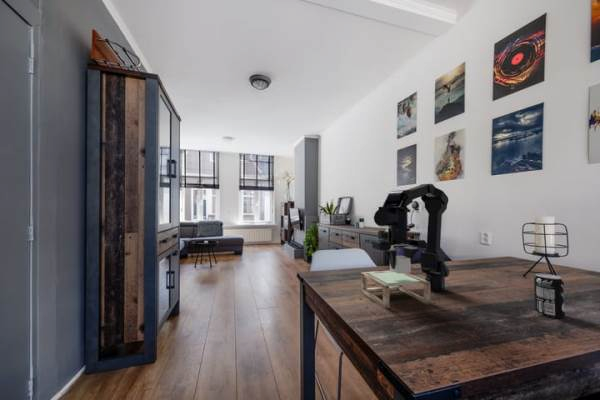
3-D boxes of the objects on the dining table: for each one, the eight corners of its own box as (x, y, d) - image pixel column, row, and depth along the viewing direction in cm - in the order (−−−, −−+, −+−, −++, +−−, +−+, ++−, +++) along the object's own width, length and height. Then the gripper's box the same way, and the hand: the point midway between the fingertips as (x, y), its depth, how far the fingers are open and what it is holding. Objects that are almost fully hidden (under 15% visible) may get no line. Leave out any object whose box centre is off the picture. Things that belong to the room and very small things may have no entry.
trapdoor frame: (400, 287, 102) (399, 269, 102) (431, 304, 85) (430, 282, 85) (360, 291, 98) (360, 272, 98) (385, 308, 81) (384, 285, 81)
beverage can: (556, 311, 78) (554, 273, 79) (570, 320, 72) (569, 279, 73) (530, 308, 81) (529, 272, 81) (542, 317, 74) (541, 277, 75)
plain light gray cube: (401, 269, 91) (401, 255, 91) (410, 272, 86) (410, 258, 86) (389, 270, 90) (389, 256, 90) (398, 273, 85) (397, 259, 85)
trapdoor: (398, 274, 99) (397, 271, 99) (420, 283, 87) (420, 280, 87) (368, 276, 96) (368, 273, 96) (387, 286, 84) (387, 283, 84)
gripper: (407, 223, 98) (408, 262, 98) (364, 224, 94) (365, 264, 94) (427, 225, 87) (428, 268, 87) (380, 226, 83) (381, 272, 83)
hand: (399, 268), depth 88 cm, fingers closed on plain light gray cube, 5 cm apart
